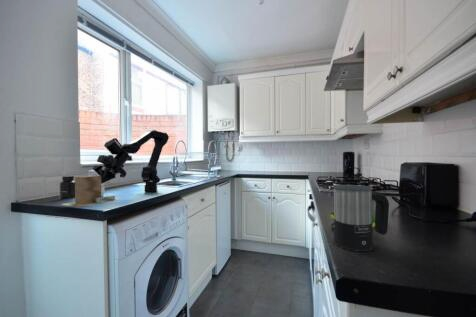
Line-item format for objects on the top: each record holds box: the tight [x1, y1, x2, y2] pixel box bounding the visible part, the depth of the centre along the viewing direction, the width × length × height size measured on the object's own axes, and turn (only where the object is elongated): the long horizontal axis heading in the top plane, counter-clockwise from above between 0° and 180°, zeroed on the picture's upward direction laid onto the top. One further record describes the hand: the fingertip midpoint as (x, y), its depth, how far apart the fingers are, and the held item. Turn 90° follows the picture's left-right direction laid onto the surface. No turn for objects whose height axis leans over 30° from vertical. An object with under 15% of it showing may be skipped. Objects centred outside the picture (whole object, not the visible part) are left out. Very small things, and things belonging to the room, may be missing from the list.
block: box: [74, 175, 102, 205], centre depth 102 cm, size 8×6×12 cm
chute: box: [60, 193, 122, 208], centre depth 103 cm, size 19×14×3 cm
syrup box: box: [88, 169, 106, 194], centre depth 126 cm, size 6×6×14 cm
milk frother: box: [330, 184, 390, 252], centre depth 60 cm, size 14×16×15 cm
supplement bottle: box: [59, 175, 75, 200], centre depth 114 cm, size 7×7×12 cm
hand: (97, 184), depth 105 cm, fingers closed, pressing on block
